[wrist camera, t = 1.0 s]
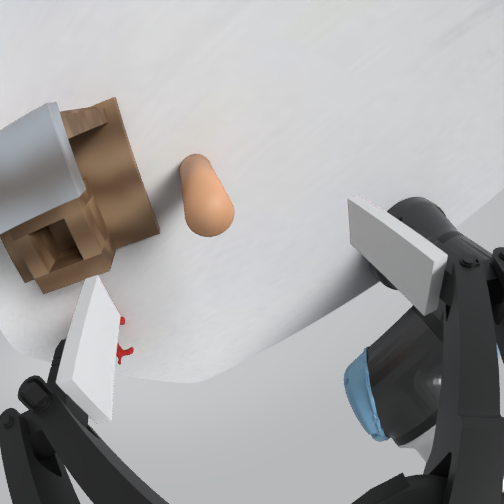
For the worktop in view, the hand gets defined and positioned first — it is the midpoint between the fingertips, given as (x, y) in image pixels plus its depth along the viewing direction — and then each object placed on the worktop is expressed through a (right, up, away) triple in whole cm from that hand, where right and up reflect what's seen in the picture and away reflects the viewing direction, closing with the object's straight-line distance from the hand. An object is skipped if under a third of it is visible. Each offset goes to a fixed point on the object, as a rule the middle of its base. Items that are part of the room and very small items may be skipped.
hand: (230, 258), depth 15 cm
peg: (-5, +9, +18) cm, 21 cm away
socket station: (-21, +7, +15) cm, 27 cm away
